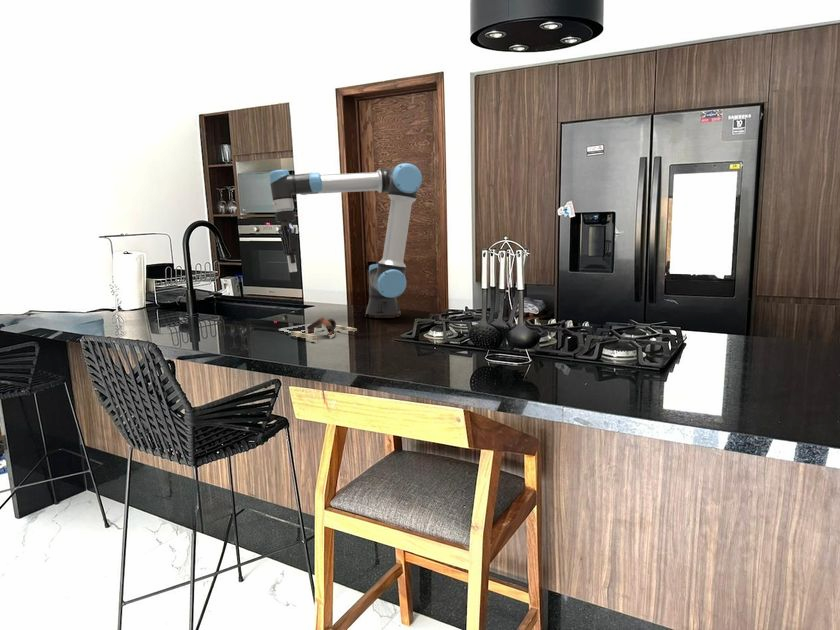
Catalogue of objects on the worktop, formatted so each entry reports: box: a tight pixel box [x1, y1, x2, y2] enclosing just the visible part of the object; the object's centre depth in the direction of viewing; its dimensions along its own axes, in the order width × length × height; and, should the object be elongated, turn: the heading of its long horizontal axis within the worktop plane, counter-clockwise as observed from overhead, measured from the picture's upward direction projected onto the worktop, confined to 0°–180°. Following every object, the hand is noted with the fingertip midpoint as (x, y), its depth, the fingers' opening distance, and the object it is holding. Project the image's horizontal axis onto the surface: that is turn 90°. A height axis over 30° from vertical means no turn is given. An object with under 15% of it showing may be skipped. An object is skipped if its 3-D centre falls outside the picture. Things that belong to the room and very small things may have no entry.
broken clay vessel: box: [307, 317, 337, 336], centre depth 227 cm, size 12×10×8 cm
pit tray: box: [277, 323, 325, 333], centre depth 236 cm, size 10×14×2 cm
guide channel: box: [290, 324, 358, 341], centre depth 226 cm, size 14×19×2 cm
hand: (293, 271), depth 241 cm, fingers closed
